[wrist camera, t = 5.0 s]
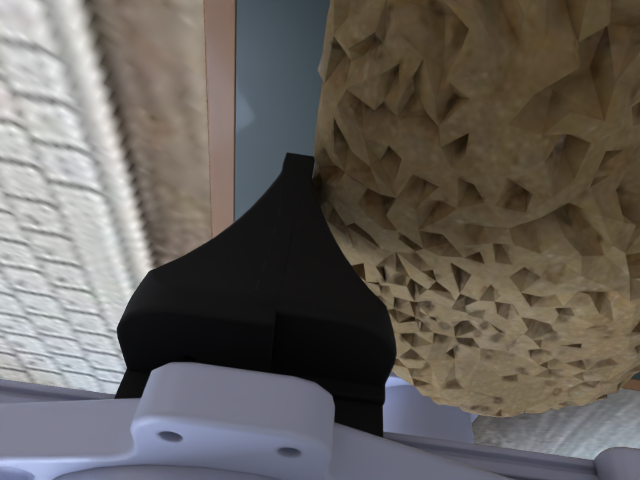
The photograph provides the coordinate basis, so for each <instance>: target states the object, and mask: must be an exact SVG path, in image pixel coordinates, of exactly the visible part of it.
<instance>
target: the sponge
mask: <svg viewBox="0 0 640 480" xmlns="http://www.w3.org/2000/svg"><path fill="white" fill-rule="evenodd" d="M318 72H319V74H320V76H321V78H322V80H323V81H322V88H321V94H320V101H319V108H318V117H317V123H316V131H315V143H314V159H315V162H316V163H315V168H314V175H313V183H314V187H315V191H316V194H317V197H318V201H319V204H320V207H321V209H322V212H323V214H324V217H325V219H326V222H327V224H328V226H329V228H330V230H331V232H332V234H333V236H334V238H335V240H336V242H337V244H338V245H339V247H340V249H341V251H342V252H343V254H344V255H345V257H346V258H347V260H348V261H349V263H350V264H351V265H352V267H353V268H354V270H355V271H356V273H357V274H358V275H359V277H360V278H361V279H362V280H363V281H364V283H365V284H366V285H367V286H368V288H369V289H370V290H371V291H372V292H373V293H374V294H375V295H376V296H377V297H378V298H379V299H380V300H381V301H382V302H383V303H384V304H385V305H386V306H387V309H388V312H389V315H390V319H391V322H392V326H393V330H394V335H395V340H396V348H397V356H396V361H395V364H394V366H393V369H392V372H394V373H395V374H396V375H397V376H399V377H400V378H402V379H403V380H405V381H406V382H408V383H410V384H411V385H413V386H414V387H416V388H417V390H418V391H419V392H420V393H421V394H422V395H423V396H430V398H431V400H432V401H433V402H434V403H436V404H438V405H442V404H444V405H449V406H455V407H460V408H461V410H462V411H464V412H468V413H472V414H478V415H484V416H492V417H498V418H505V417H514V416H517V415H520V414H521V413H527V414H533V413H543V412H546V411H549V410H551V409H559V410H560V409H562V408H563V407H564V406H583V405H586V404H589V403H592V402H595V401H598V400H601V399H604V398H607V394H611V393H617V392H618V391H619V390H620V389H621V388H622V387H623V386H624V385H625V384H626V383H627V382H628V381H629V380H630V378H631V377H632V376H633V375H634V374H635V373H638V372H640V0H330V6H329V11H328V15H327V22H326V29H325V37H324V45H323V52H322V56H321V60H320V63H319V67H318Z"/></svg>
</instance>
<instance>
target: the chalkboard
mask: <svg viewBox="0 0 640 480" xmlns="http://www.w3.org/2000/svg"><path fill="white" fill-rule="evenodd" d="M329 6H330V0H204V27H205V55H206V83H207V111H208V139H209V167H210V195H211V223H212V239H213V238H214V237H216V236H217V235H218V234H220V233H221V232H222V231H224V230H225V229H226V228H228V227H229V226H230V225H232V224H233V223H234V222H235V221H236V220H238V219H239V218H240V217H241V216H242V215H243V214H244V213H245V212H247V211H248V210H249V209H250V208H251V207H252V206H253V205H254V204H255V203H256V201H257V200H258V199H259V198H260V197H261V196H262V195H263V194H264V193H265V192H266V191H267V189H268V188H269V187H270V186H271V185H272V183H273V182H274V181H275V180H276V178H277V177H278V176H279V174H280V173H281V171H282V166H283V162H284V159H285V156H286V153H287V152H288V153H295V154H301V155H308V156H314V143H315V131H316V123H317V117H318V108H319V101H320V94H321V88H322V81H323V80H322V78H321V76H320V74H319V72H318V67H319V63H320V60H321V56H322V52H323V45H324V37H325V29H326V22H327V15H328V11H329ZM315 163H316V162H315ZM315 163H314V168H315ZM313 175H314V170H313ZM312 178H313V177H312ZM622 388H624V389H631V390H637V391H640V372H638V373H635V374H634V375H633V376H632V377H631V378H630V380H629V381H628V382H627V383H626V384H625V385H624V386H623V387H622Z"/></svg>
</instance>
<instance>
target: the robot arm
mask: <svg viewBox="0 0 640 480" xmlns="http://www.w3.org/2000/svg"><path fill="white" fill-rule="evenodd" d="M314 163H315V159H314V156H308V155H301V154H295V153H288V152H287V153H286V156H285V159H284V162H283V166H282V171H281V173H280V174H279V176H278V177H277V178H276V180H275V181H274V182H273V183H272V185H271V186H270V187H269V188H268V189H267V191H266V192H265V193H264V194H263V195H262V196H261V197H260V198H259V199H258V200H257V201H256V203H255V204H254V205H253V206H252V207H251V208H250V209H249V210H248V211H247V212H245V213H244V214H243V215H242V216H241V217H240V218H239V219H238V220H236V221H235V222H234V223H233V224H232V225H230V226H229V227H228V228H226V229H225V230H224V231H222V232H221V233H220V234H218V235H217V236H216V237H214V238H213V239H211V240H210V241H208V242H207V243H205V244H203V245H202V246H200V247H198V248H196V249H195V250H193V251H191V252H190V253H188V254H186V255H184V256H182V257H180V258H178V259H176V260H174V261H172V262H169V263H167V264H165V265H163V266H160V267H158V268H156V269H153V270H151V271H149V272H148V274H147V275H146V276H145V278H144V279H143V280H142V282H141V283H140V285H139V286H138V288H137V289H136V291H135V292H134V294H133V295H132V297H131V299H130V300H129V302H128V305H127V307H126V309H125V311H124V313H123V316H122V318H121V320H120V322H119V324H118V327H117V337H118V340H119V344H120V347H121V350H122V353H123V357H124V360H125V363H126V367H127V370H126V372H125V374H124V377H123V379H122V381H121V384H120V386H119V388H118V391H117V393H116V395H114V394H106V393H99V392H92V391H84V390H77V389H70V388H62V387H55V386H48V385H41V384H33V383H26V382H19V381H11V380H4V379H0V480H640V449H636V448H629V447H614V448H609V449H606V450H604V451H603V452H601V453H600V454H599V455H598V456H597V457H596V458H595V459H594V460H588V459H581V458H574V457H566V456H559V455H552V454H544V453H537V452H530V451H523V450H515V449H508V448H501V447H493V446H486V445H479V444H474V437H473V431H472V423H473V421H474V420H475V419H476V418H477V416H478V414H472V413H468V412H464V411H462V410H461V408H460V407H455V406H449V405H444V404H442V405H438V404H436V403H434V402H433V401H432V400H431V398H430V396H423V395H422V394H421V393H420V392H419V391H418V390H417V388H416V387H414V386H413V385H411V384H410V383H408V382H406V381H405V380H403V379H402V378H400V377H399V376H397V375H396V374H395V373H394V372H392V369H393V366H394V364H395V361H396V356H397V348H396V340H395V335H394V330H393V326H392V322H391V319H390V315H389V312H388V309H387V306H386V305H385V304H384V303H383V302H382V301H381V300H380V299H379V298H378V297H377V296H376V295H375V294H374V293H373V292H372V291H371V290H370V289H369V288H368V286H367V285H366V284H365V283H364V281H363V280H362V279H361V278H360V277H359V275H358V274H357V273H356V271H355V270H354V268H353V267H352V265H351V264H350V263H349V261H348V260H347V258H346V257H345V255H344V254H343V252H342V251H341V249H340V247H339V245H338V244H337V242H336V240H335V238H334V236H333V234H332V232H331V230H330V228H329V226H328V224H327V222H326V219H325V217H324V214H323V212H322V209H321V207H320V204H319V201H318V197H317V194H316V191H315V187H314V183H313V178H312V177H313V170H314Z"/></svg>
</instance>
